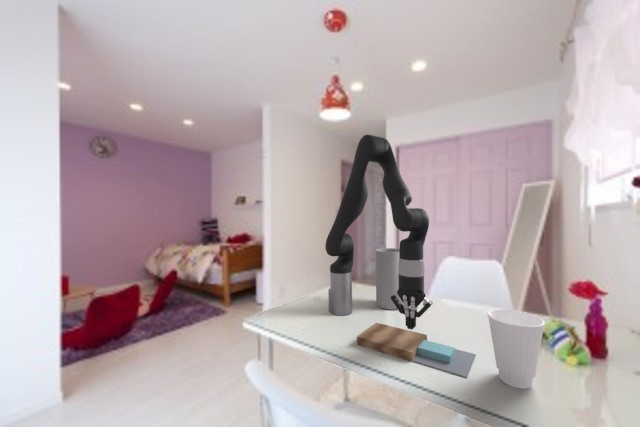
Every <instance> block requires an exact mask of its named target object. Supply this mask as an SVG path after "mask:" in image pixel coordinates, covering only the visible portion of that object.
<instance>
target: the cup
mask: <svg viewBox="0 0 640 427" xmlns="http://www.w3.org/2000/svg"><path fill="white" fill-rule="evenodd" d="M487 317H488V322H489V328H490V334H491V340H492V346H493V353H494V360H495V363H496V368H497V369H498V376H499V379H500V380H501V381H502V382H503V383H504V384H506V385H508V386H510V387H513V388H516V389H520V390H521V389H523V390H528V389H531V388H532V387H533V383H534V378H535V377H536V374H537V368H538V367H537V366H538V362H539V356H540V349H541V344H542V341H543V340H542V339H543V335H544V334H543V333H544V329H545V326H546V325H545V324H546V322H545V320H544V319H542V318H541V317H539V316H537V315H534V314H532V313H529V312H525V311H522V310H516V309H515V310H514V309H509V308H507V309H506V308H497V309H496V308H495V309H491V310H489V311H488V312H487Z"/></svg>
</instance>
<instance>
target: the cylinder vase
mask: <svg viewBox="0 0 640 427" xmlns="http://www.w3.org/2000/svg"><path fill="white" fill-rule="evenodd" d="M398 277H399V248H395V247H394V248H393V247H391V248H390V247H389V248H387V247H385V248H377V249H375V295H376V296H375V299H376V303H375V304H376V305H377V306H378V307H379V308H381V309H384V310H391V311H393V310H394V311H395V310H396V311H397V310H398V309H397V307H396V306H395V304H394V303H393V301H392V300H391V296H392V295H394V294H397V291H398V289H399V286H398ZM400 301H401V299H400ZM401 302H402V301H401ZM402 304H403V305H404V303H403V302H402Z"/></svg>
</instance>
